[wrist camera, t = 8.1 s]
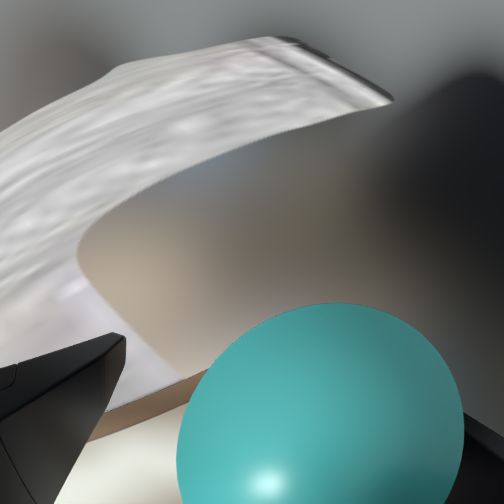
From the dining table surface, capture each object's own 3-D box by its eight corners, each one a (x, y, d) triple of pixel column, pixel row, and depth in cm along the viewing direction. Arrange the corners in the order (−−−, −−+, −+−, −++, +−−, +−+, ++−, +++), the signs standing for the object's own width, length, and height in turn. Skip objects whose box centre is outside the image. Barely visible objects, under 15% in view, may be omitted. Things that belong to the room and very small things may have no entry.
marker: (295, 438, 14) (492, 455, 3) (224, 475, 13) (283, 622, 2) (255, 373, 16) (379, 257, 5) (184, 408, 15) (115, 389, 3)
